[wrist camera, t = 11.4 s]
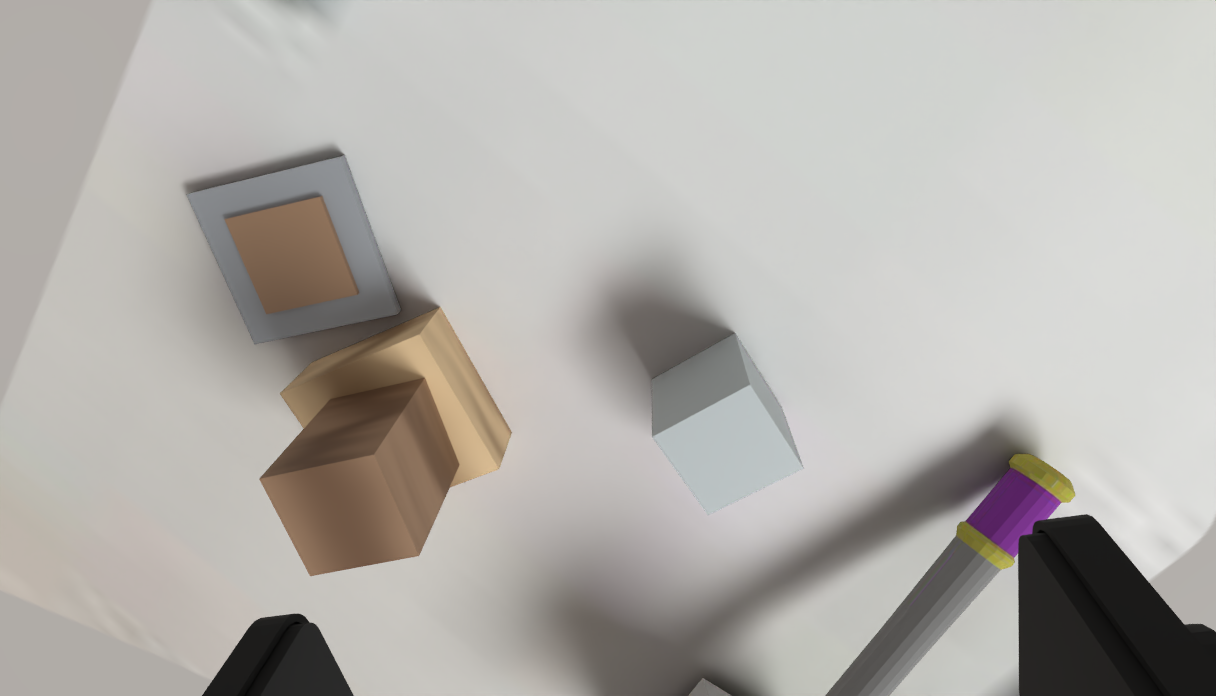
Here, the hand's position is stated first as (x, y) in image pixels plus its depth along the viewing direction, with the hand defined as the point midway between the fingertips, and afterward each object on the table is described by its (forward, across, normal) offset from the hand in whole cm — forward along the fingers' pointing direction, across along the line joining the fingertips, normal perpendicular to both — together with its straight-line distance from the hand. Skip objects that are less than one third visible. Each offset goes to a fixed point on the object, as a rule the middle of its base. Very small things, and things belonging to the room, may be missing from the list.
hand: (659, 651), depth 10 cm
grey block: (+27, 0, +11) cm, 29 cm away
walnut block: (+23, +15, +8) cm, 29 cm away
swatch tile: (+26, +19, -1) cm, 32 cm away
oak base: (+27, +16, +8) cm, 32 cm away
